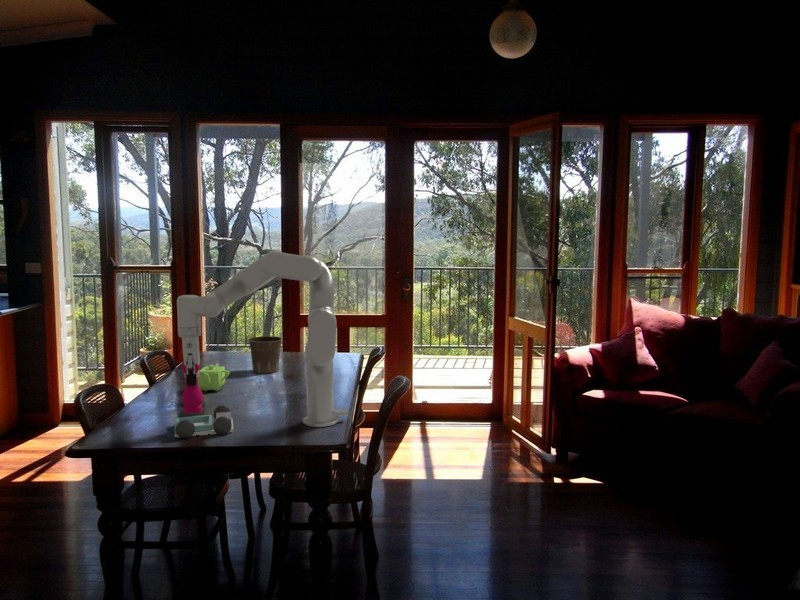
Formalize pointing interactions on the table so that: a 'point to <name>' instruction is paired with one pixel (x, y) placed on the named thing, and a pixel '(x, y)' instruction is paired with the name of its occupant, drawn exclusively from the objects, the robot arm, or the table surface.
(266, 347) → the plant pot
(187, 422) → the chassis
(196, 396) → the pepper mill
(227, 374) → the teapot
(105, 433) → the table surface
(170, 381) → the table surface
